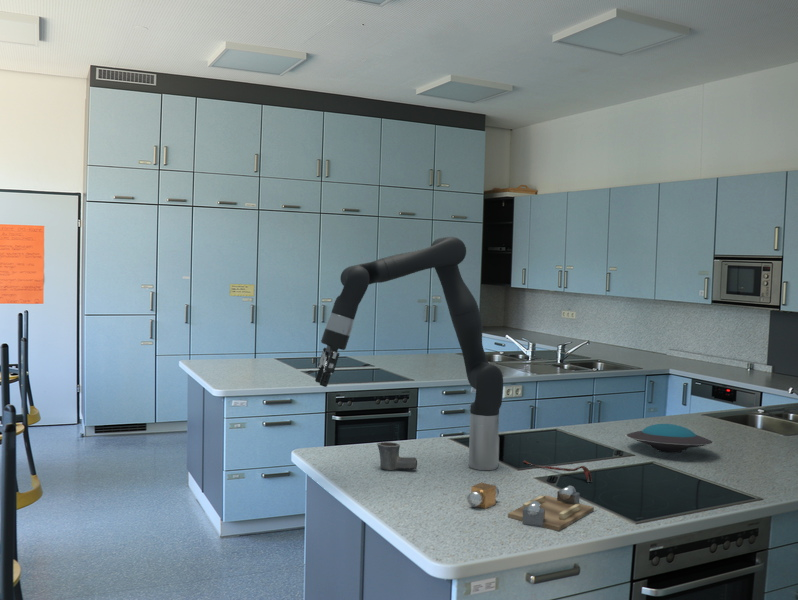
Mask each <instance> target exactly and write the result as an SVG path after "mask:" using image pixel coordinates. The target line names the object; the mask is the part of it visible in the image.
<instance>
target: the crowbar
mask: <svg viewBox="0 0 798 600" xmlns="http://www.w3.org/2000/svg"><path fill="white" fill-rule="evenodd" d="M523 463H525V464H526V465H528V464H531V465H535V466H538V467H537V468H539V467H541V468H540V469H548V470H554V471H555V470H556V471H562V472H563V471H565V472H575V471H578V470H579V469H582V470H583V472H584V474H585V477H586V482H590V481H591V482H592V483H593V478H592V474H591V472H590V470H589V468H587V466H585V465H580V466H578V467H575V468H566V467H565V468H564V467H553V466H547V465H545V466H544V465H538V464H537V465H536V464H534V463H533V464H532V463H531V462H530V461H529V462H528V461H527V460H525V459H523ZM531 465H530V466H531ZM535 466H534V467H535ZM591 482H590V483H591Z"/></svg>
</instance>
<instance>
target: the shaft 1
mask: <svg viewBox="0 0 798 600" xmlns="http://www.w3.org/2000/svg"><path fill="white" fill-rule="evenodd" d="M544 520H545V509H542V508H541V504H540V503H539V502H538V501H532V502H531V504H530V505H529V507H527V506H525V507H524V509H523V521H522V525H527V526H533V527H541V528H544V527H543V522H544Z"/></svg>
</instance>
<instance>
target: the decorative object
mask: <svg viewBox="0 0 798 600" xmlns="http://www.w3.org/2000/svg"><path fill="white" fill-rule="evenodd" d="M624 436H625V437H627V438H629V439H631V440H635V441H637V442H639V443H644V444H646V445H648V446H650V447H651V448H653V449H654V450H656V451H658V452H661V453H670V454H671V453H673V454H679V453H682V452H683V451H686V450H687V449H688V448H698V447H705V446H708V445H712V444H714V442H713V441H712V440H711V439H709V438H706V437H703V436H701V435H697V434H696V433H695V432H694V431H692V430H691V429H689V428H687V427H685V426H682V425H677V424H673V423H655V424H651V425H649V426H646V427H645V428H644V429H642V430H638V431H637V430H636V431H633V432H629V433H627V434H625V435H624Z"/></svg>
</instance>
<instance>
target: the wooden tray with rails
mask: <svg viewBox="0 0 798 600" xmlns="http://www.w3.org/2000/svg"><path fill="white" fill-rule="evenodd" d="M532 501H538V502H539V503H540V504H541V508H542V509H545V520H544V522H543V527H542V528H546V529H550V530H553V531H556V532H557V531H558V532H560V531H561V530H564V529H565V528H567V527H568V526H570V525H572V524H573V523H575V522H577V521H579V520H581V519H582V518H584V517H585V516H587V515H589V514H590V513H592V512H594V510H595V509H594V507H595V506H593V505H592V506H591V505H587V504H582V503H580V502H579V503H577V504H575V505H573V504H569V503H565V502H561V501H557V497H555V496H550V495H546V494H545V495H543V494H542V495H539V496H536V498H533V499H531V500H529V501H527V502H524V503H522V504H523V505H522V506H520V507H518V508H516V509H514V510H512V511H509V512H508V513H507V518H510V519H514V520H517V521H519V522H520V521H521V522H523V509H524V507H525V506H527V507H529V505H530V504H531V502H532Z"/></svg>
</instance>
